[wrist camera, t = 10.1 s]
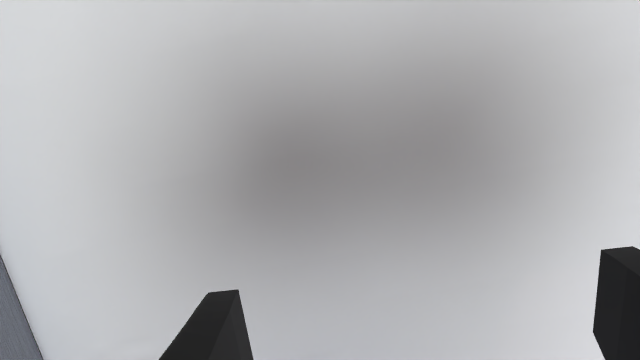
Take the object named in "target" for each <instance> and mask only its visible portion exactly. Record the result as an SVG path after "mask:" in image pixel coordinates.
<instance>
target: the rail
mask: <svg viewBox="0 0 640 360" xmlns="http://www.w3.org/2000/svg"><path fill="white" fill-rule="evenodd" d="M0 360H43V359H42V357H41V354H40V352H39V349H38V347H37V345H36V342H35V340H34V337H33V335H32V332H31V330H30V327H29V325H28V323H27V320H26V318H25V315H24V313H23V310H22V308H21V306H20V303H19V301H18V298H17V296H16V293H15V291H14V288H13V286H12V284H11V281H10V279H9V276H8V274H7V271H6V269H5V267H4V264H3V262H2V259H1V257H0Z"/></svg>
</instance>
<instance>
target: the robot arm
mask: <svg viewBox="0 0 640 360" xmlns="http://www.w3.org/2000/svg"><path fill="white" fill-rule="evenodd" d="M593 333H594V336H595V338H596V340H597V342H598V345H599V347H600V349H601V351H602V354H603V356H604V358H605V360H640V250H639V249H637V248H635V247H633V246H632V247H622V248H613V249H604V250H601V256H600V266H599V276H598V287H597V297H596V307H595V317H594V327H593ZM159 360H253V356H252V351H251V347H250V342H249V337H248V333H247V328H246V323H245V319H244V314H243V309H242V305H241V300H240V295H239V291H238V290H229V291H220V292H210V293H208V294H207V295H206V296H205V297H204V299H203V300H202V301H201V303H200V304H199V305H198V307H197V308H196V310H195V311H194V313H193V314H192V315H191V317H190V318H189V320H188V321H187V322H186V324H185V325H184V327H183V328H182V329H181V331H180V332H179V334H178V335H177V336H176V338H175V339H174V340H173V342H172V343H171V344H170V346H169V347H168V348H167V350H166V351H165V352H164V354H163V355H162V356H161V357H160V359H159Z"/></svg>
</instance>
